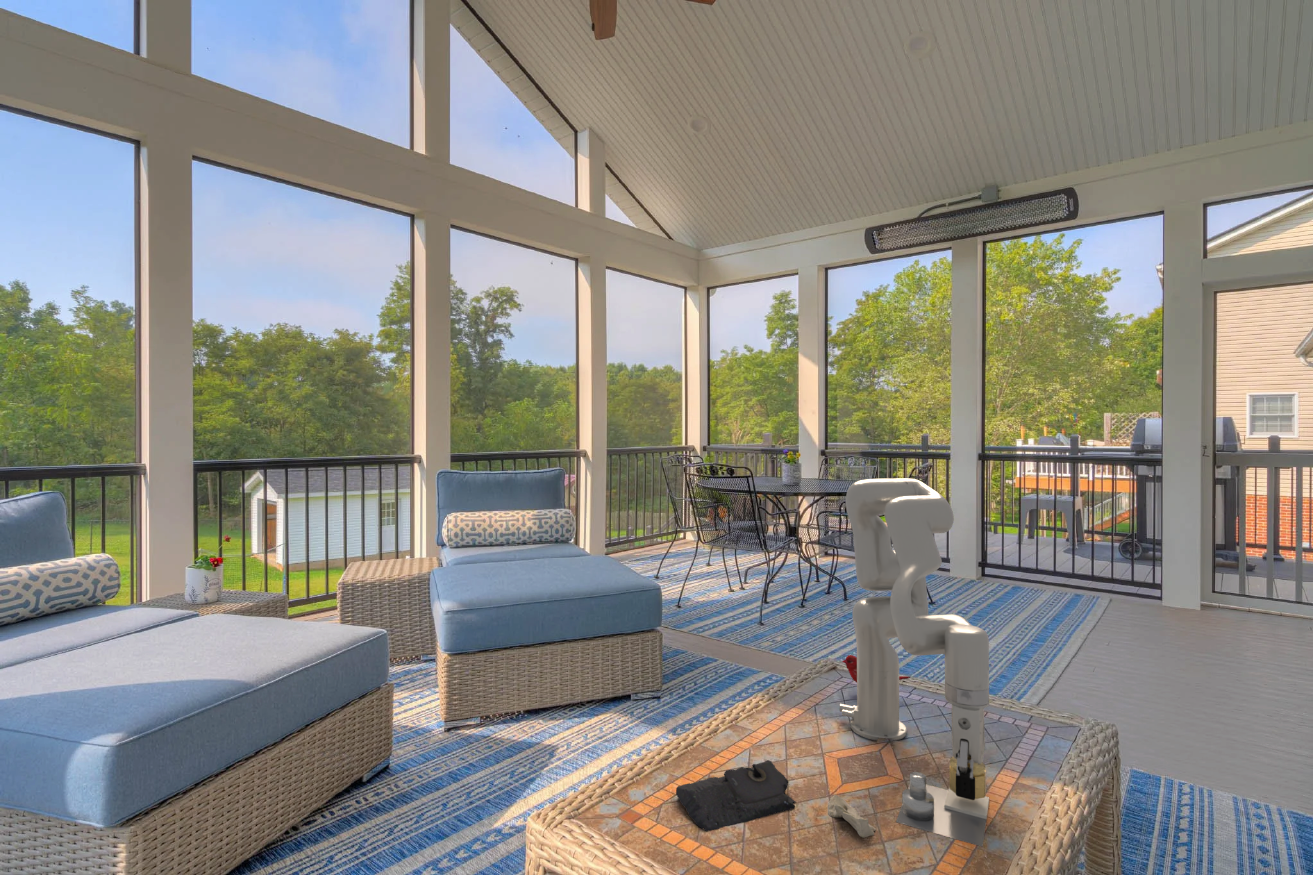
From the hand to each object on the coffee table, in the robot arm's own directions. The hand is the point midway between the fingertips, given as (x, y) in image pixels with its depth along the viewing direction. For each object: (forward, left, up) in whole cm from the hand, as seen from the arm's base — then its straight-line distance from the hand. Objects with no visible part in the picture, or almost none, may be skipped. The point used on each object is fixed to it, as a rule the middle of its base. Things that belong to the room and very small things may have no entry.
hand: (967, 787), depth 122 cm
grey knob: (-8, -7, -3) cm, 11 cm away
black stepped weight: (-40, -18, -5) cm, 44 cm away
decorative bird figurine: (-27, +47, -4) cm, 54 cm away
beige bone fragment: (-18, -16, -5) cm, 24 cm away
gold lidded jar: (0, 0, 0) cm, 0 cm away
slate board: (-4, -4, -4) cm, 7 cm away
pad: (0, 0, -3) cm, 3 cm away
